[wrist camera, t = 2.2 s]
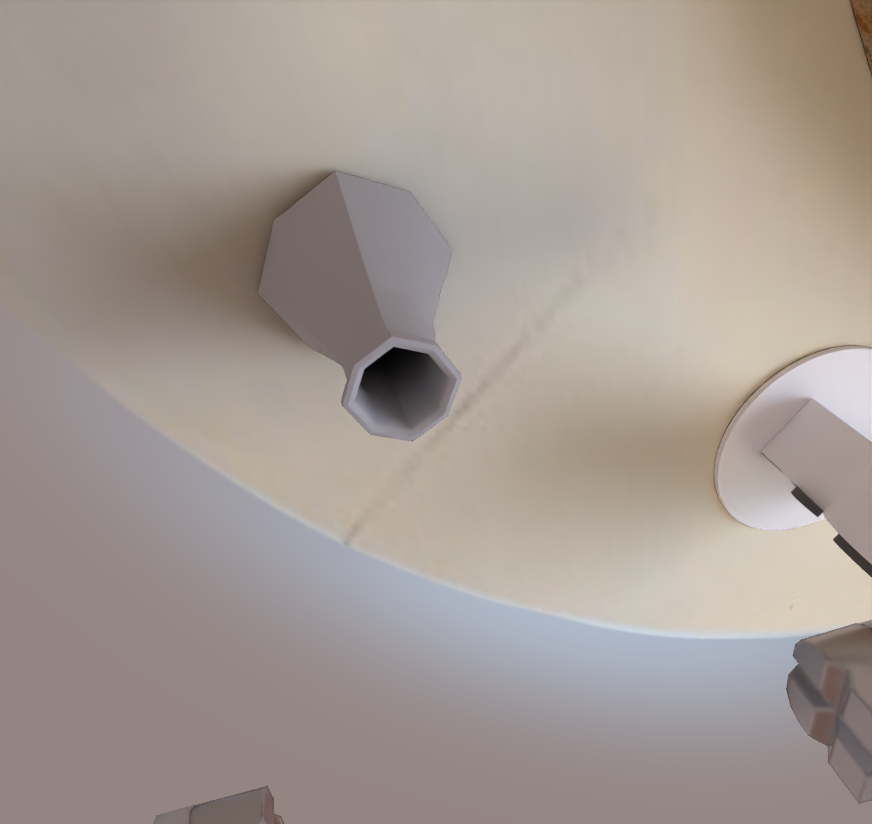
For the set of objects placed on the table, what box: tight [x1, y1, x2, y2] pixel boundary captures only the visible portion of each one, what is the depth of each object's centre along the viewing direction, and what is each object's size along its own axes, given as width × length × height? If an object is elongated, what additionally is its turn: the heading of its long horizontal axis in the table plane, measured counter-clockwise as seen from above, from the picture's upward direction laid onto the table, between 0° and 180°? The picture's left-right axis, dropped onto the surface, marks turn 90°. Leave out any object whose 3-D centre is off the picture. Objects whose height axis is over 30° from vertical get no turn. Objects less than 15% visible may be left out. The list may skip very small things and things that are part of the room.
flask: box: [258, 171, 462, 441], centre depth 24 cm, size 7×7×10 cm
